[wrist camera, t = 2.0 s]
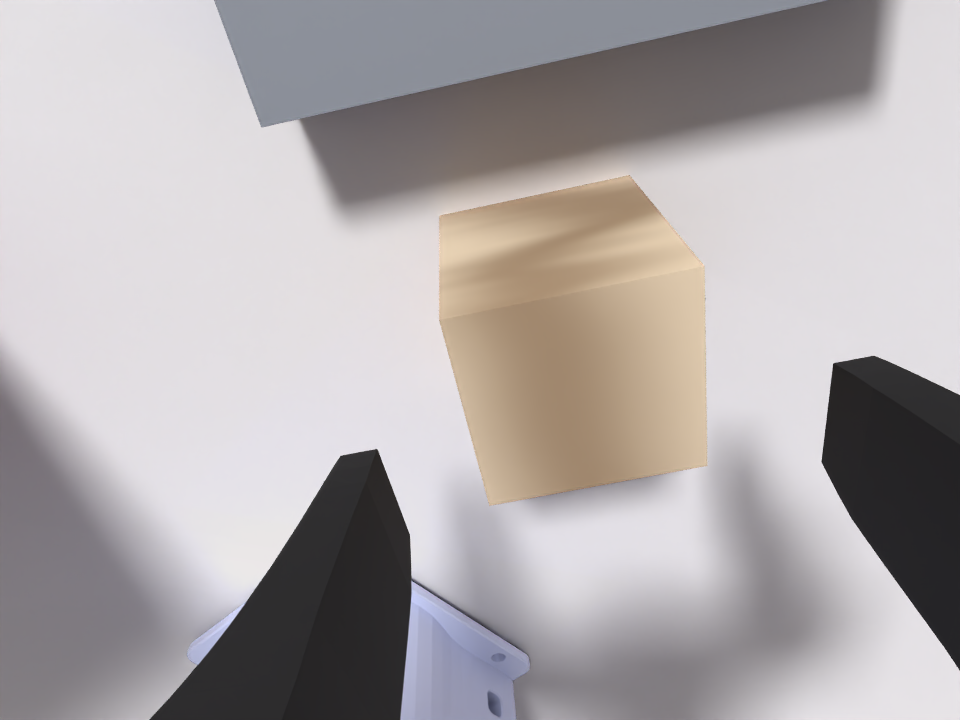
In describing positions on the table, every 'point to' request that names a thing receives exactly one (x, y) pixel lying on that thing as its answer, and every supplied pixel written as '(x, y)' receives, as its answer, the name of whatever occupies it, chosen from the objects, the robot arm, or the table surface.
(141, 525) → the table surface
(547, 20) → the slate base
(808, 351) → the table surface
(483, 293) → the oak block
